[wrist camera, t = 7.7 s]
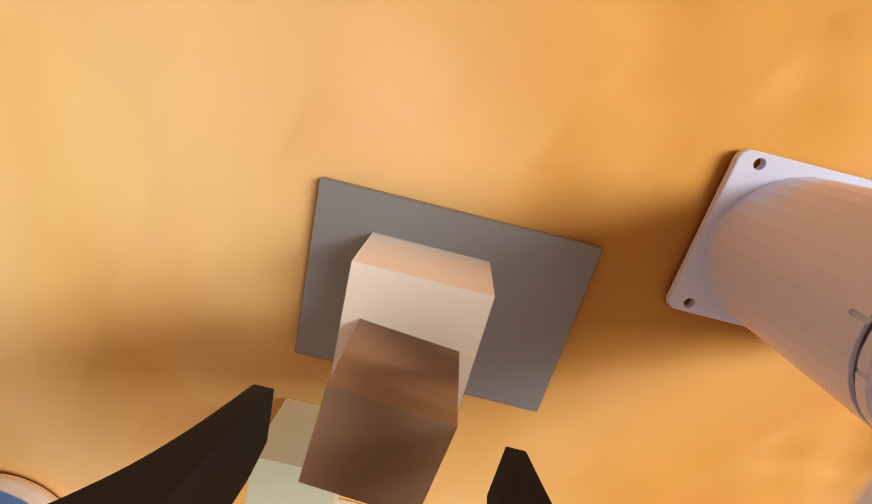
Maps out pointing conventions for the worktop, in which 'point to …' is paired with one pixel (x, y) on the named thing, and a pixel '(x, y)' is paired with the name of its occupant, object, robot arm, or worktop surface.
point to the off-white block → (419, 296)
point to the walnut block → (384, 418)
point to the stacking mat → (467, 235)
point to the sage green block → (287, 459)
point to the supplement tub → (22, 491)
